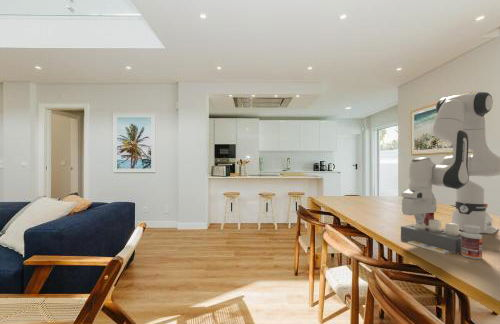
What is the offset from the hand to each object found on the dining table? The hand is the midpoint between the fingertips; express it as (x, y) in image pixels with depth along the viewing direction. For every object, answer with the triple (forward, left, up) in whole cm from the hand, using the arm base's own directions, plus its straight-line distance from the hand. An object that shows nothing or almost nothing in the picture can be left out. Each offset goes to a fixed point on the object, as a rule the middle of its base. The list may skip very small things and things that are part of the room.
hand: (419, 223), depth 120 cm
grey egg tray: (0, +6, -7) cm, 10 cm away
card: (+9, +8, -7) cm, 14 cm away
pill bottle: (+4, +21, -8) cm, 23 cm away
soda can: (-14, -6, -7) cm, 17 cm away
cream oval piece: (0, 0, -6) cm, 6 cm away
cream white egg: (0, +6, -3) cm, 7 cm away
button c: (0, +13, -3) cm, 13 cm away
